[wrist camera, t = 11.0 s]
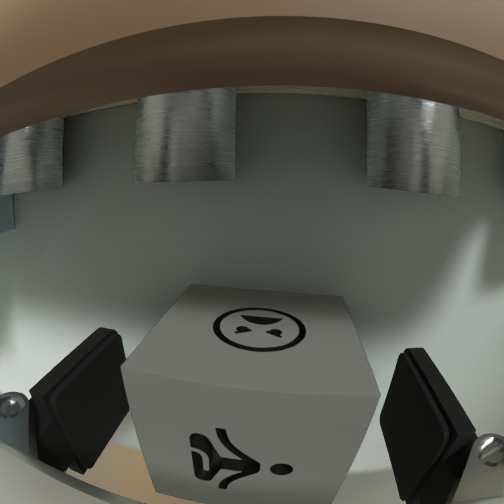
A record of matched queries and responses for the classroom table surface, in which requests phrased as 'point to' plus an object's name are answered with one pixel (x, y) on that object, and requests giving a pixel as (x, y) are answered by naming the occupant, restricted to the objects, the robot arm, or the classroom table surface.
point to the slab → (245, 50)
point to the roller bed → (223, 140)
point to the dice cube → (251, 396)
